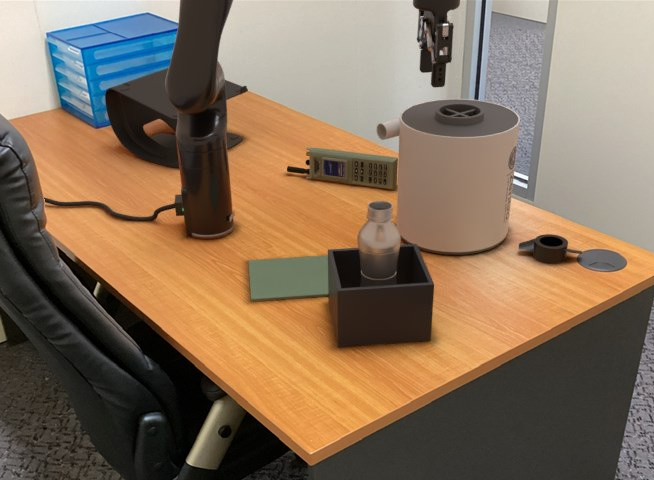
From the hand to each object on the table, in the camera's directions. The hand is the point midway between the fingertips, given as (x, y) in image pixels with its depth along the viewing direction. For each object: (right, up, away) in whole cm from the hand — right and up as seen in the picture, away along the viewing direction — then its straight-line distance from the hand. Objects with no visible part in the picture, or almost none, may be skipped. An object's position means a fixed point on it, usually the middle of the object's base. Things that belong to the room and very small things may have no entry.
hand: (431, 79), depth 143 cm
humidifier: (+4, -23, +19) cm, 30 cm away
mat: (-21, -33, +5) cm, 40 cm away
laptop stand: (-51, +4, +62) cm, 81 cm away
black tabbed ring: (+23, -29, +10) cm, 38 cm away
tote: (-10, -41, -7) cm, 43 cm away
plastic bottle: (-10, -41, -7) cm, 43 cm away
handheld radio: (-14, -9, +41) cm, 44 cm away
